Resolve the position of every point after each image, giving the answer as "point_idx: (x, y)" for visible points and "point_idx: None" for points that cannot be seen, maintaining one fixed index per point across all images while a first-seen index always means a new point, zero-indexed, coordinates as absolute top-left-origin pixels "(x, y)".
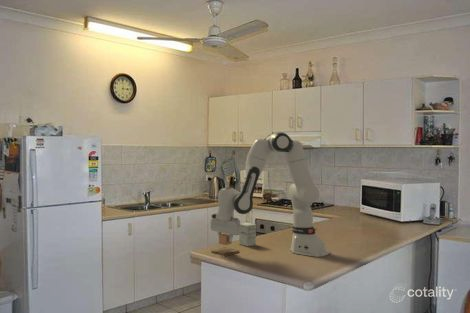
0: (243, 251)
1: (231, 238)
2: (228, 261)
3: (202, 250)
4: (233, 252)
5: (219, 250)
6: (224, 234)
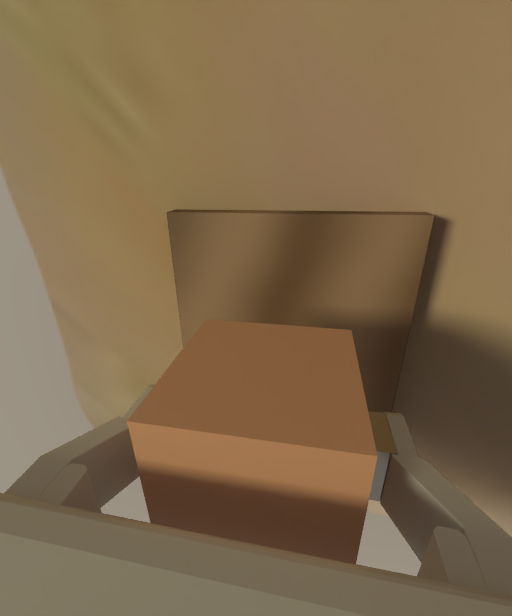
0: (456, 120)
1: (424, 470)
2: (507, 521)
3: (101, 387)
4: (409, 326)
5: None
6: (207, 504)
